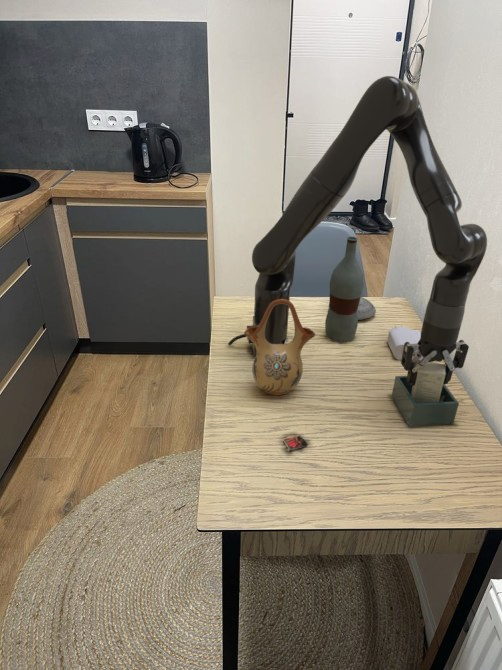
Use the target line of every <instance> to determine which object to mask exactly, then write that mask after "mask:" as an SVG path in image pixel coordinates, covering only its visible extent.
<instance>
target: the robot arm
mask: <svg viewBox="0 0 502 670" xmlns="http://www.w3.org/2000/svg"><path fill="white" fill-rule="evenodd" d="M424 115H425V114H424V112H423V108H422V105H421V102H420V98H419V96H418V93H417V91H416V89H415V88H414V87H413V86H412V85H411V84H410V83H408V82H406V81H404V80H403V79H400V78H398V77H396V76H394V75H393V76H392V75H385V76H381V77H379V78H377V79H376V80H374V81H373V82H372V83H371V84H370V85H369V86H368V87H367V88H366V90H365V91H364V93H363V95H362V96H361V97H360V99H359V101H358V103H357V104H356V106H355V108H354V109H353V111H352V112H351V114H350V116H349V118H348V119H347V121H346V122H345V125H344V126H343V128H342V129H341V130H340V132H339V133H338V135H337V136H336V138H335V139H334V140H333V141H332V143H331V144H330V145H329V147H328V148H327V150H326V151H325V152H324V154H323V155H322V156H321V157H320V159H319V161H318V162H317V163H316V165H315V166H314V167H313V168H312V170H311V171H310V172H309V173H308V175H307V176H306V178H305V179H304V180H303V182H302V183H301V185H300V186H299V188H298V189H297V191H296V192H295V193H294V195H293V197H292V198H291V200H290V202H289V203H288V205H287V206H286V208H285V210H284V211H283V213H282V215H281V216H280V218H279V219H278V220H277V222H276V223H275V224H274V225H273V227H272V228H271V229H270V230H269V231H268V232H267V233H266V234H265V235H264V236H263V237H262V238H261V239H260V240H259V241H258V242H257V243H256V244H255V246H254V248H253V250H252V253H251V263H252V265H253V268H254V270H255V271H256V272H257V273H258V274H259V275H258V277H257V279H256V282H255V285H254V306H253V308H254V309H253V316H252V325H246V329H248V328H250V327H253V326H256V327H257V326H258V325H259V324H260V322H261V321H262V319H263V316H264V314H265V312H266V310H267V308H268V306H269V305H270V303H271V302H273V301H274V300H277V299H286V300H288V301H290V298H291V289H292V286H293V283H294V278H295V277H294V275H295V268H296V267H295V266H296V254H297V253H296V250H297V249H298V247H299V245H300V244H301V243H302V241H304V239H305V238H306V237H307V236H308V235H309V234H311V233H312V231H314V230H315V228H316V227H318V226H319V225H320V224H321V223H322V222H323V221H324V220H325V219H326V218H327V217H329V215H330V214H331V213H332V211H334V209H335V208H336V207H337V206H338V204H339V203H340V202H341V201H342V199H344V197H345V196H346V194H348V192H349V191H350V189H351V187H352V186H353V183H354V181H355V178H356V176H357V173H358V171H359V167H360V166H361V163H362V161H363V158H364V157H365V155H366V153H367V152H368V151H369V149H370V148H371V147H372V146H373V144H374V143H375V142H376V141H377V140H378V138H379V137H380V136H381V135H382V134H383V133H384V132H385V131H387V132H388V133H389V134H390V136H391V137H392V138H393V139H394V141H395V142H396V144H397V145H398V147H399V149H400V151H401V153H402V156H403V159H404V161H405V164H406V169H407V173H408V178H409V182H410V185H411V187H412V191H413V193H414V195H415V197H416V200H417V202H418V204H419V206H420V208H421V210H422V212H423V214H424V216H425V217H426V222H427V224H426V225H427V230H428V234H429V239H430V243H431V247H432V249H433V251H434V254H435V255H436V257H437V258H438V259H439V260H440V261H441V263H444V264H445V265H444V266H443V268H441V269H440V270H439V271H438V272H437V273H436V274H435V276H434V279H433V282H432V286H431V291H430V294H429V295H430V296H429V299H428V302H427V304H426V308H425V312H424V317H423V321H422V326H421V330H420V331H421V338H420V340H419V342H418V343H417V344H410V343H409V342H405V344H404V348H403V354H402V359H401V360H400V364H401V366H402V367H403V369H404V370H405V371H407V373H406V374H407V375H406V376H407V381H408V382H409V383H410V385H411V386H414V385H415V382H416V378H417V371H418V370H419V369H420V367H421V366H424V365H425V364H426V363H427V362H437V363H440V362H443V364H445V366H446V375H445V379H444V383H443V384H445V385H448V384H449V382H451V380H452V377H453V372H454V371H455V370H456V369H463V367H464V365H465V361H466V358H467V355H468V352H469V349H470V348H469V347H470V346H469V345H468V343H466V342H465V341H464V340H463V339H460V340H459V341H458V339H459V335H460V331H461V327H462V323H463V320H464V316H465V311H466V303H467V299H468V295H469V293H470V287H471V283H472V281H473V279H474V278H475V276H476V274H477V272H478V270H479V268H480V266H481V264H482V262H483V260H484V257H485V255H486V253H487V252H486V251H487V247H488V237H487V234H486V231H485V230H484V228H483V227H482V226H481V225H479V224H477V223H465V224H462V225H461V223H460V221H459V217H458V213H459V212H460V211H461V209H462V206H463V203H462V199H461V196H460V194H459V193H458V190H457V188H456V187H455V185H454V182H453V181H452V179H451V177H450V175H449V173H448V171H447V169H446V167H445V165H444V162H443V161H442V159H441V157H440V155H439V153H438V151H437V149H436V146H435V144H434V141H433V140H432V136H431V134H430V131H429V128H428V126H427V122H426V118H425V116H424ZM289 312H290V308H289V306H287V305H285V304H277V305H275V306H274V307H273V309H272V311H271V313H270V315H269V317H268V320H267V323H266V328H265V338H266V340H267V341H268V342H269V343H271V344H288V341H289V336H288V327H289V314H290V313H289ZM243 338H247V343H248V344H249V345H250V344H251V347H252V353H253V356H254V357H255V356H256V346H255V345H254V343H253V342H252V341H251V340H250V339H249V338H248V337H247V336H246V335H245V334H244V333H243V334H239V335H237V336H235V337H233V338H232V339H231V340H230V341H229V342H228V343H227V345H228V346H232V345H233V344H234V343H235V342H236V341H238V340H240V339H243ZM417 349H418V350H419V351H418V352H417V353H416V354H415V351H416V350H417ZM454 351H455V352H454ZM453 352H454V356H453V360H452V357H451V354H452V353H453ZM413 354H415V355H414V358H413V359H412V356H413ZM421 356H423V359H421Z"/></svg>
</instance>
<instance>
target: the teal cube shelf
mask: <svg viewBox="0 0 502 670" xmlns="http://www.w3.org/2000/svg"><path fill="white" fill-rule="evenodd" d="M411 391H412V386H411V385H410V383H409V382H408V381H407V375H395V377H394V382H393V386H392V392H391V398H392V400H393V402H394V404H395V405H396V407H397V408H398V410H399V412H400V413H401V415H402V417H403V418H404V421H405V422H406V424H407V425H408V427H410V428H411V427H428V426H429V427H430V426H446V425H454V423H455V419H456V416H457V412H458V409H459V405H460V402H459V401H458V399H456V397H455V396H454V395H453V393H452V392H451V390H450V389H449V388H448V387H447V386H446V384H443V387H442V391H441V395H440V399H439V402H435V403H415V401H414V400H413V398H412V397H411Z"/></svg>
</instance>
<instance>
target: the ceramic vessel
mask: <svg viewBox="0 0 502 670" xmlns="http://www.w3.org/2000/svg"><path fill="white" fill-rule="evenodd" d="M277 304H285V305H287V306H289V311H290V313H291V316H292V320H293V324H294V335H293V338H292V340H291V341H289V342H287V344H271V343H269V342H268V341H267V340H266V338H265V328H266V323H267V320H268V317H269V315H270V313H271V311H272V309H273V307H274V306H275V305H277ZM252 326H253V325H252ZM243 334H245V335H246V336H247V337H248V338H249V339H250V340H251V341H252V342H253V343H254V345H255V346H256V356H254V358H253V361H252V368H251V371H252V377H253V380H254V382H255V384H256V385H257V386H258V388H259V389H261V390H262V392H265V393H267V394H268V395H272V396H281V395H284V394H288V393H290V392H291V391H292V390H294V389H295V388H296V387H297V386H298V385H299V383H300V381H301V379H302V376H303V373H304V363H303V360H302V357H301V356H302V349H303V348H304V347H305V345H306V344H307V343H308V342H309V341H311V339H314V338H315V336H316V333H315V332H314V331H313V330H312V329H311V328H309V327H305V326H303V325H302V323H301V321H300V318H299V316H298V312H297V310H296V307H295V305H294V304H293V303H292V302H291V301H290V300H289V301H288V300H286V299H277V300H274V301H273V302H271V303H270V305H269V306H268V308H267V310H266V312H265V314H264V316H263V319H262V321H261V322H260V324H259V325H258V326H257V327H256V326H253V327H250V328H248V329H247V328H246V329H245V330H244V331H243ZM247 337H246V338H247ZM248 338H247V339H248Z"/></svg>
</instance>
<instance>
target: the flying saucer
mask: <svg viewBox="0 0 502 670" xmlns="http://www.w3.org/2000/svg"><path fill="white" fill-rule="evenodd" d="M376 313H377V310H376V307H375V305H374V304H373V303H372V302H371V301H370V300H368V299H367V298H365V297H362V296H361V297H360V302H359V306H358V310H357V316H358V321H359V320H367V319H369V318H372V317H374V316H375V315H376Z"/></svg>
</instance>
